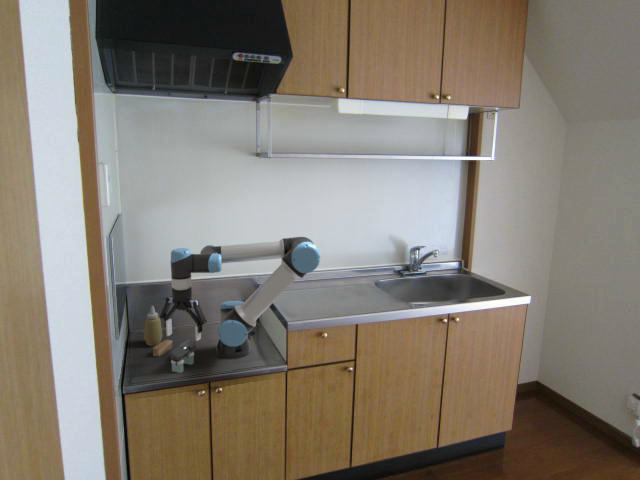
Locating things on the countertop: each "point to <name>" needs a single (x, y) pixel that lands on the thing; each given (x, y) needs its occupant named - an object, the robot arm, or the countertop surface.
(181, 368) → the cradle
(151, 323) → the squeeze bottle
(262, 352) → the countertop surface
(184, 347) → the dark grey rounded block
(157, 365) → the countertop surface
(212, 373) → the countertop surface
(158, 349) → the wooden bars with cylinder
